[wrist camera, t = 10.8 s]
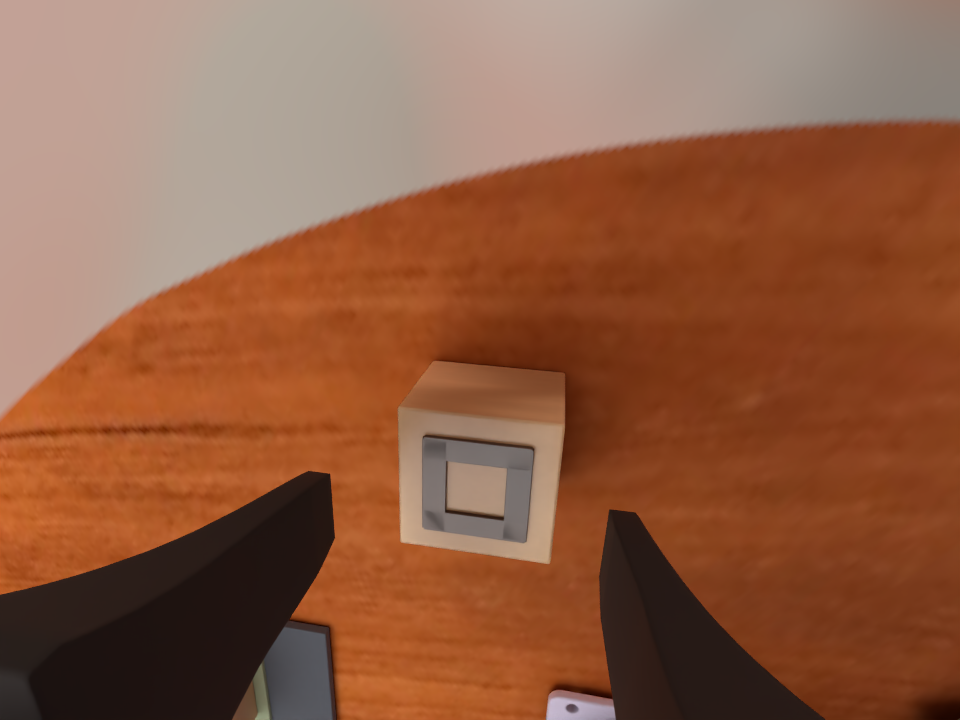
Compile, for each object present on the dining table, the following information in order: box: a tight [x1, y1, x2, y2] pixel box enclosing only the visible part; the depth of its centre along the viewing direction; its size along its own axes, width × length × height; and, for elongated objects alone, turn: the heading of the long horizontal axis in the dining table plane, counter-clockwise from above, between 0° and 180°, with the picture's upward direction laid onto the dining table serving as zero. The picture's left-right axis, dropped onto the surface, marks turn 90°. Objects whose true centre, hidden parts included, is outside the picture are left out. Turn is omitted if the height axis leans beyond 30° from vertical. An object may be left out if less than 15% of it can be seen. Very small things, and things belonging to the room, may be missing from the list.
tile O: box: [398, 361, 565, 564], centre depth 16 cm, size 5×5×4 cm
